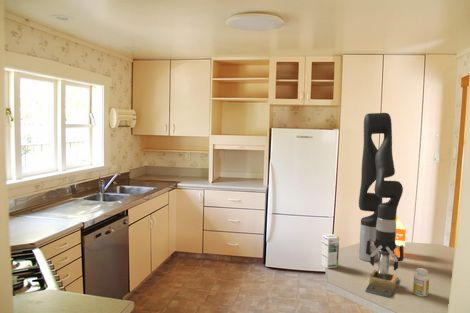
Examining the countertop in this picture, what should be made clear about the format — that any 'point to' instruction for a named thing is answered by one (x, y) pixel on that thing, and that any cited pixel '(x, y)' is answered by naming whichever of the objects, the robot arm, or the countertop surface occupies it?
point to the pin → (383, 264)
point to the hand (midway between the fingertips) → (383, 267)
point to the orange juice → (399, 235)
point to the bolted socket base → (381, 284)
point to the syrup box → (330, 251)
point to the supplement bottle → (421, 282)
